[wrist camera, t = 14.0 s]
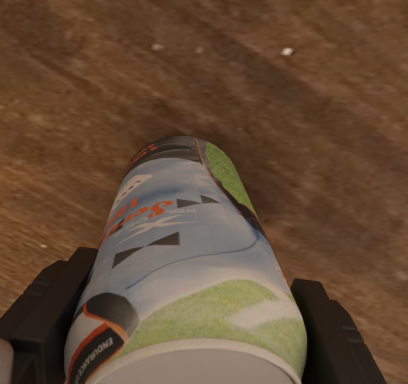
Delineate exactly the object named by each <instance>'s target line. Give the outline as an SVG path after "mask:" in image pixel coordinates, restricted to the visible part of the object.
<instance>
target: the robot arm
mask: <svg viewBox="0 0 408 384" xmlns="http://www.w3.org/2000/svg"><path fill="white" fill-rule="evenodd" d="M98 251H99V249H94V248H87V247H79V248H78V249H77V250H76V251H75V253H74V254H73V255H72V256H71V258H70V259H69V260H68V261H62V260H58V261H57V262H55V263H53V264H51V265H50V266H48V267H46V268H45V269H43V270H42V271H41V272H40V274H39V275H38V276H37V277H36V278H35V279H34V281H33V283H32V284H30V285H29V286H28V287H27V289H26V290H25V291H24V293H23V295H20V297H19V298H18V299H17V300H16V301H15V302H14V304H13V305H12V306H11V307H10V308H9V309H8V310H7V312H6V313H5V314H4V315H3V316H2V317H1V318H0V384H64V382H65V380H66V375H65V370H64V347H65V343H66V339H67V336H68V332H69V329H70V326H71V323H72V320H73V317H74V314H75V311H76V309H77V306H78V303H79V300H80V297H81V295H82V292H83V290H84V287H85V285H86V282H87V280H88V278H89V275H90V273H91V270H92V268H93V265H94V263H95V260H96V257H97V254H98ZM290 291H291V293H292V295H293V298H294V300H295V302H296V304H297V306H298V309H299V311H300V313H301V315H302V318H303V322H304V326H305V329H306V333H307V359H306V364H305V368H304V372H303V376H302V379H301V383H302V384H387V383H386V381H385V379H384V377H383V376H382V374H381V372H380V370H379V368H378V366H377V364H376V363H375V361H374V359H373V357H372V355H371V353H370V351H369V349H368V348H367V346H366V344H364V340H363V338H362V336H361V335H360V333H359V332H357V327H356V325H355V323H354V322H353V320H352V318H351V316H350V314H349V313H348V312H347V311H346V310H345V309H344V308H343V307H342V306H341V305H340V304H339V303H338V302H337V301H334V300H329V298H328V296H327V294H326V292H325V290H324V288H323V285H322V284H321V283H320V282H318V281H311V280H304V279H297V278H296V279H294V281H293V283H292V285H291V289H290Z"/></svg>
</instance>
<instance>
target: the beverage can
mask: <svg viewBox="0 0 408 384" xmlns="http://www.w3.org/2000/svg"><path fill="white" fill-rule="evenodd" d="M98 249H99V251H98V254H97V257H96V260H95V263H94V265H93V268H92V270H91V273H90V275H89V278H88V280H87V282H86V285H85V287H84V290H83V292H82V295H81V297H80V300H79V303H78V306H77V309H76V311H75V314H74V317H73V320H72V323H71V326H70V329H69V332H68V336H67V339H66V343H65V347H64V370H65V375H66V379H67V383H68V384H302V383H301V379H302V376H303V372H304V368H305V364H306V359H307V333H306V329H305V326H304V322H303V318H302V315H301V313H300V311H299V309H298V306H297V304H296V302H295V300H294V298H293V295H292V293H291V291H290V289H289V286H288V284H287V282H286V280H285V278H284V275H283V273H282V271H281V269H280V266H279V264H278V262H277V260H276V258H275V255H274V253H273V251H272V249H271V246H270V244H269V242H268V240H267V237H266V235H265V233H264V231H263V229H262V226H261V224H260V222H259V220H258V217H257V215H256V213H255V211H254V209H253V206H252V204H251V202H250V200H249V197H248V195H247V193H246V191H245V189H244V186H243V184H242V182H241V180H240V177H239V175H238V173H237V171H236V169H235V167H234V165H233V163H232V161H231V160H230V159H229V158H228V156H227V155H226V154H225V153H224V152H223V151H222V150H221V149H219V148H218V147H217V146H215V145H213V144H212V143H210V142H208V141H206V140H203V139H200V138H197V137H191V136H171V137H166V138H162V139H159V140H157V141H154V142H152V143H150V144H149V145H147V146H145V147H144V148H142V149H141V150H140V151H139V152H138V153H137V154H136V155H135V156H134V157H133V158H132V160H131V161H130V162H129V164H128V166H127V168H126V170H125V172H124V175H123V178H122V181H121V183H120V186H119V189H118V192H117V195H116V198H115V201H114V203H113V206H112V209H111V212H110V215H109V218H108V220H107V223H106V226H105V229H104V232H103V235H102V238H101V240H100V243H99V246H98Z"/></svg>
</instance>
